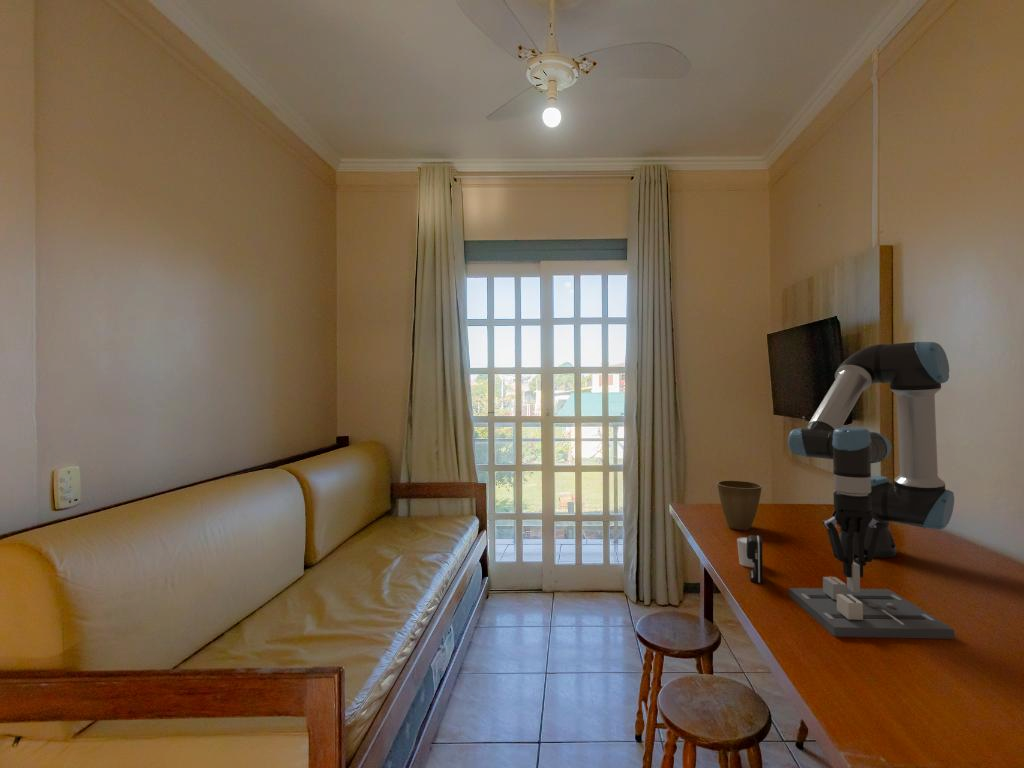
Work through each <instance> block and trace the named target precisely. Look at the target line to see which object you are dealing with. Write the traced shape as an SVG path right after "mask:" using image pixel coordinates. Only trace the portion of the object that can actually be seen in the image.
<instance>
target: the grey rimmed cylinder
mask: <svg viewBox="0 0 1024 768" xmlns="http://www.w3.org/2000/svg"><path fill="white" fill-rule="evenodd" d="M747 537H748V536H746V537H745V536H743V537H742V536H741V537H738V538H737V539H736V543H737V553H738V562H739V563H738V564H740V565H741V566H743V567H747V568H754V565H755V564H754V563H753V562H752V559H748V558H747V552H746V546H747Z"/></svg>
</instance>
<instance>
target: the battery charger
mask: <svg viewBox="0 0 1024 768" xmlns="http://www.w3.org/2000/svg"><path fill="white" fill-rule="evenodd" d="M746 537H747V546H746V552H747V558H748V559H752V562H753V563H754V564H755V565H754V567H752V570H751V571H749V580H750V581H751V582H754V583H759V584H763V582H764V573H763V570H764V569H763V567H764V566H763V565H764V564H763V563H764V562H763V561H764V559H763V540H762V536H761V535H753V534H751V535H750V534H749V535H748V536H746Z"/></svg>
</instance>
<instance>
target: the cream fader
mask: <svg viewBox="0 0 1024 768" xmlns="http://www.w3.org/2000/svg"><path fill="white" fill-rule="evenodd" d="M837 611H839V612H840V613H841V614H842V615H844V616H845V617H846V618H847V619H853V620H863V603H862V602H860V601H859V600H858V599H856V598H855V597H853V596H852V595H851V594H845V593H843V594H837Z"/></svg>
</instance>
